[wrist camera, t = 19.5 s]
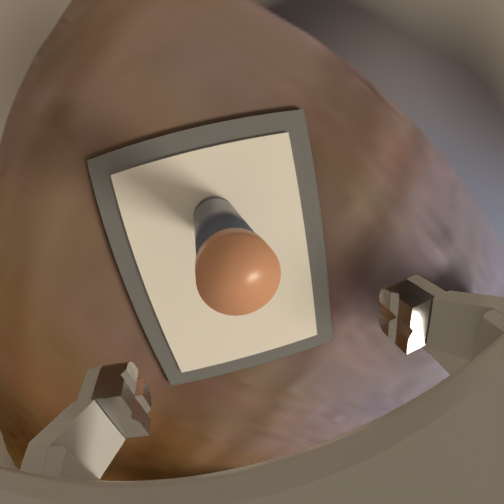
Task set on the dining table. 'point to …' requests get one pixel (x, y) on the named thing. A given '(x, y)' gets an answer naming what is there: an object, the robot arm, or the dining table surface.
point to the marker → (232, 260)
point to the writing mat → (183, 239)
